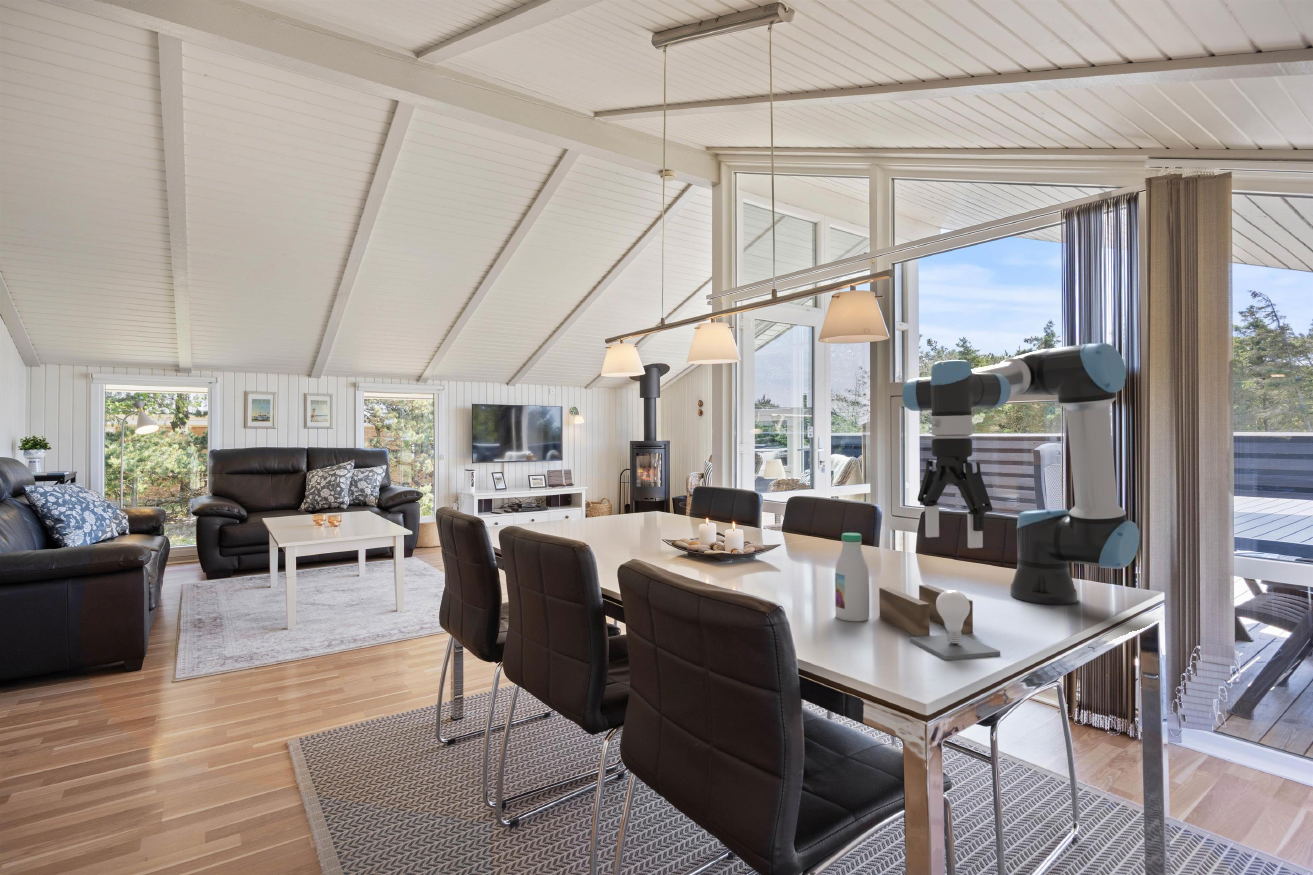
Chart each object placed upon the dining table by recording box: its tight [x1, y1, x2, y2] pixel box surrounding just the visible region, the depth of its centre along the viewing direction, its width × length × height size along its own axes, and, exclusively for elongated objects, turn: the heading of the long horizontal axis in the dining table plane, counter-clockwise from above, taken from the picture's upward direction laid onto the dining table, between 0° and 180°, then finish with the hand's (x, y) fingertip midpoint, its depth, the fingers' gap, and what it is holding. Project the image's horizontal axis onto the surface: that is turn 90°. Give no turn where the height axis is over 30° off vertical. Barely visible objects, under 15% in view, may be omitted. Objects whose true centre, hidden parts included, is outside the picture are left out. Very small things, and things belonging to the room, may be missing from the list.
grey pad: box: [909, 633, 1001, 661], centre depth 134 cm, size 12×12×1 cm
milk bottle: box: [834, 532, 870, 622], centre depth 157 cm, size 8×8×20 cm
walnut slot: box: [878, 584, 974, 637], centre depth 151 cm, size 13×16×7 cm
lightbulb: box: [936, 589, 970, 645], centre depth 134 cm, size 6×6×11 cm
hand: (952, 542), depth 134 cm, fingers open, 13 cm apart
